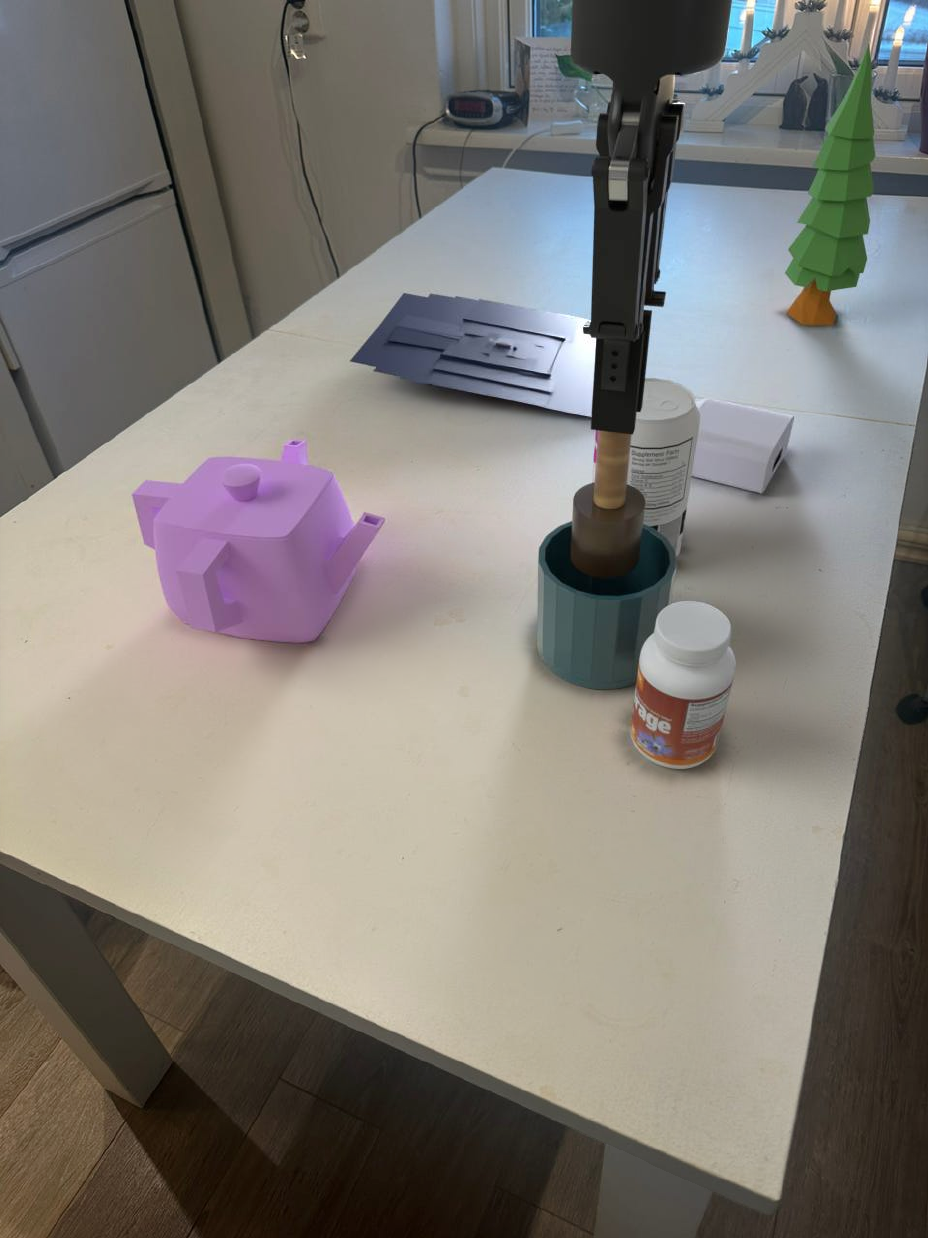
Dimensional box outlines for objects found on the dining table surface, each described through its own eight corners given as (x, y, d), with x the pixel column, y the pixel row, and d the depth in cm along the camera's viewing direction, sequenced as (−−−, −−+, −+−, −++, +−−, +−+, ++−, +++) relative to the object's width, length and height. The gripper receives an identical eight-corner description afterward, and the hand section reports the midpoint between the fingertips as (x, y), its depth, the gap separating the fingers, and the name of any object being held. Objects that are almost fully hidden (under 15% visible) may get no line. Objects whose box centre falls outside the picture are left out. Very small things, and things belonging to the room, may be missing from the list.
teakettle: (149, 575, 79) (106, 457, 71) (320, 514, 85) (299, 399, 77) (208, 690, 68) (165, 566, 60) (401, 611, 74) (386, 488, 66)
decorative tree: (806, 297, 118) (864, 33, 98) (869, 316, 113) (944, 42, 93) (762, 318, 114) (814, 47, 94) (827, 340, 108) (896, 57, 88)
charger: (648, 421, 96) (786, 453, 90) (615, 461, 90) (760, 498, 84) (653, 381, 93) (796, 411, 87) (619, 420, 87) (769, 455, 81)
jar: (683, 676, 67) (699, 585, 61) (558, 700, 66) (561, 611, 60) (636, 594, 74) (646, 507, 68) (523, 615, 73) (523, 527, 67)
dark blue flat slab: (407, 307, 119) (408, 280, 117) (624, 347, 115) (630, 320, 112) (344, 390, 102) (343, 361, 99) (597, 441, 98) (602, 412, 95)
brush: (649, 571, 63) (684, 296, 49) (582, 583, 62) (599, 308, 49) (625, 531, 66) (651, 265, 53) (562, 542, 66) (572, 275, 52)
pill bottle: (614, 719, 64) (626, 605, 57) (689, 697, 65) (710, 583, 58) (655, 783, 60) (674, 669, 52) (734, 757, 61) (763, 642, 54)
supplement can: (571, 558, 78) (579, 407, 68) (614, 513, 83) (627, 365, 73) (655, 589, 75) (675, 434, 65) (694, 539, 80) (719, 388, 70)
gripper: (605, -50, 47) (583, 360, 63) (536, -9, 36) (531, 473, 52) (749, -53, 45) (689, 370, 61) (720, -10, 35) (657, 489, 50)
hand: (616, 417), depth 57 cm, fingers closed on brush, 2 cm apart
